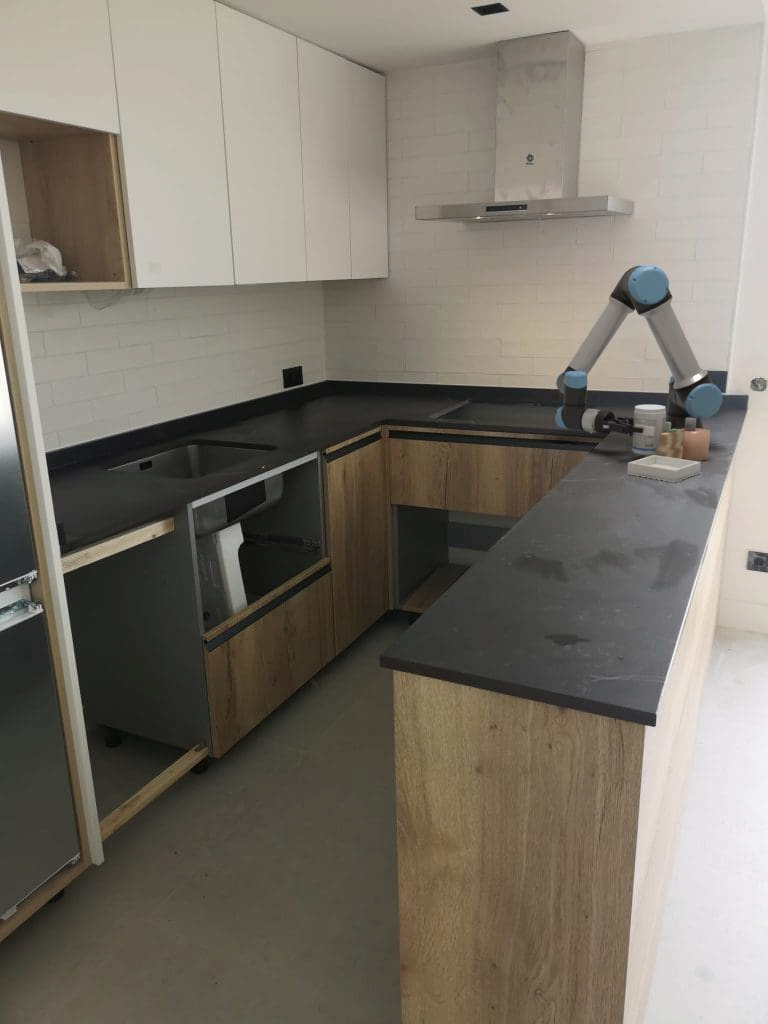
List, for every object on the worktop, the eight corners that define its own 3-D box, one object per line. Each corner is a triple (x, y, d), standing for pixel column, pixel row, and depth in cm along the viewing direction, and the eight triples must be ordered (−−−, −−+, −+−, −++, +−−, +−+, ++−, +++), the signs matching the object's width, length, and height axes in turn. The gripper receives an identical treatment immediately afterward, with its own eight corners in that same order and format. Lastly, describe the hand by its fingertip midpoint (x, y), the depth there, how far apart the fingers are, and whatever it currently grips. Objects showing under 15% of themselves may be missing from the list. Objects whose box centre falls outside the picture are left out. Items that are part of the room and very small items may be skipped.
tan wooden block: (676, 459, 255) (678, 426, 252) (681, 460, 254) (685, 427, 251) (656, 466, 248) (659, 432, 245) (662, 467, 246) (665, 433, 243)
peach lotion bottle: (686, 453, 264) (689, 414, 260) (712, 457, 257) (716, 417, 254) (672, 458, 258) (676, 418, 254) (699, 462, 251) (703, 421, 248)
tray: (653, 465, 248) (653, 454, 247) (699, 473, 237) (700, 462, 236) (627, 474, 238) (627, 462, 237) (674, 482, 228) (675, 470, 227)
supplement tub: (647, 448, 262) (650, 403, 257) (670, 453, 254) (673, 406, 249) (625, 452, 257) (627, 406, 253) (647, 457, 249) (651, 410, 245)
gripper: (616, 427, 274) (678, 435, 258) (579, 437, 260) (643, 446, 244) (617, 405, 272) (680, 412, 256) (580, 414, 258) (644, 422, 242)
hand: (662, 429), depth 250 cm, fingers closed on supplement tub, 9 cm apart
